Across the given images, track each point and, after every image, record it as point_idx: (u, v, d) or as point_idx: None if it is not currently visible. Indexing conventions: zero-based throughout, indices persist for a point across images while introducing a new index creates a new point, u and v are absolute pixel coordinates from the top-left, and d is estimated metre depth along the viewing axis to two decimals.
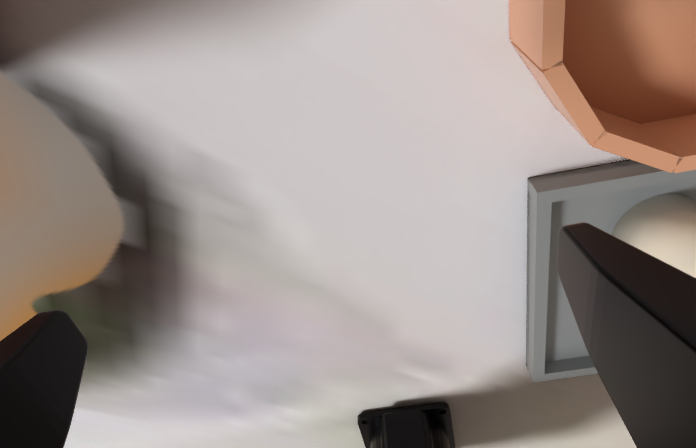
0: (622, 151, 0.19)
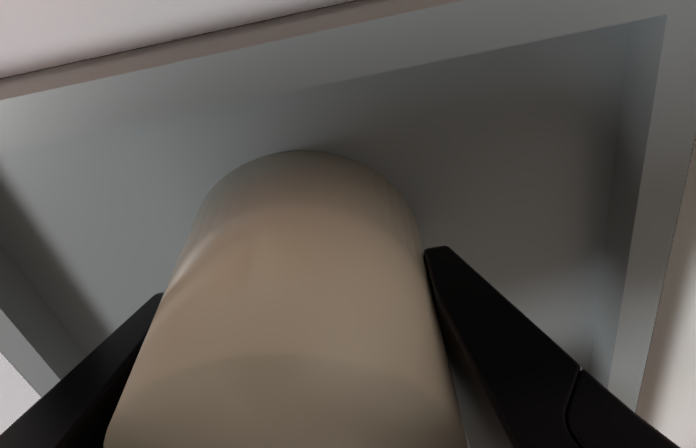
0: None
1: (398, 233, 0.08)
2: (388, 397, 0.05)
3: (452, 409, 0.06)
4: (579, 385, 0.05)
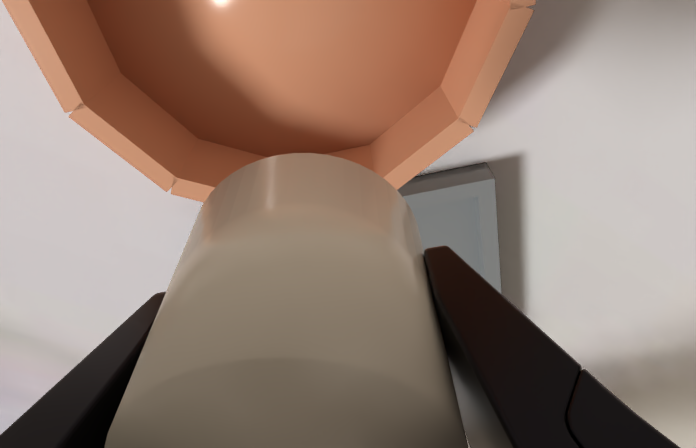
0: None
1: (399, 235, 0.08)
2: (389, 399, 0.05)
3: (453, 411, 0.06)
4: (579, 385, 0.05)
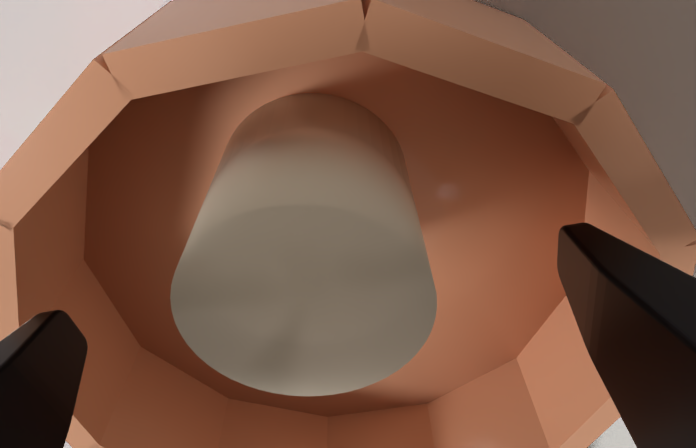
0: None
1: (387, 151, 0.10)
2: (377, 241, 0.07)
3: (423, 258, 0.08)
4: None
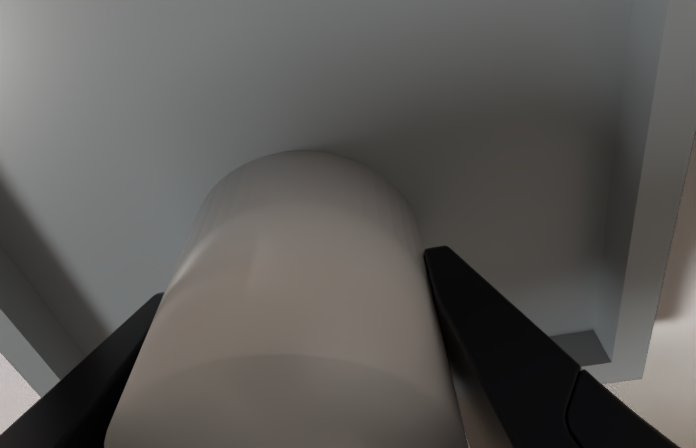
0: None
1: None
2: None
3: None
4: (579, 385, 0.05)
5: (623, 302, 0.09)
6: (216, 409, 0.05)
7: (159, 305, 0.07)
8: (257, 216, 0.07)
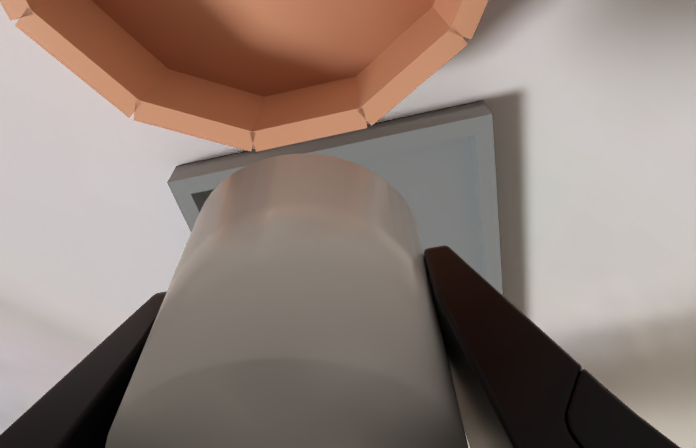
0: (174, 125, 0.16)
1: None
2: None
3: None
4: (579, 385, 0.05)
5: None
6: (218, 413, 0.05)
7: (160, 308, 0.07)
8: (257, 219, 0.07)
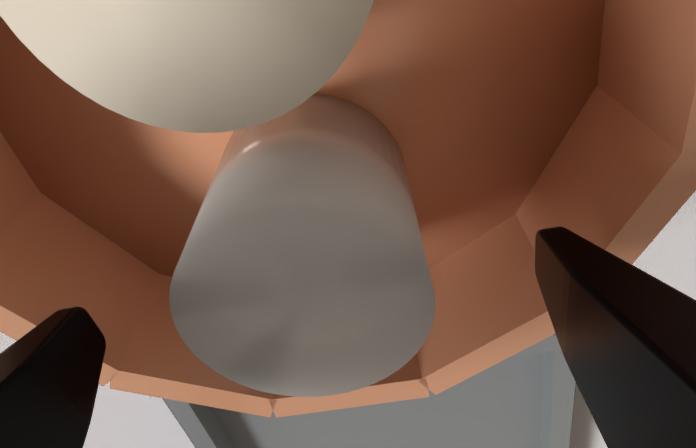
0: (166, 393, 0.11)
1: None
2: None
3: None
4: None
5: None
6: (253, 254, 0.08)
7: None
8: (277, 134, 0.09)
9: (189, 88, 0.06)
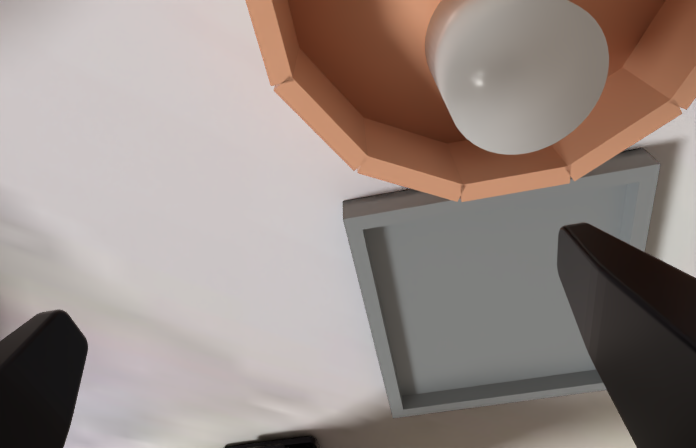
0: (393, 178, 0.17)
1: None
2: None
3: None
4: None
5: None
6: (510, 34, 0.13)
7: (450, 26, 0.15)
8: None
9: None
